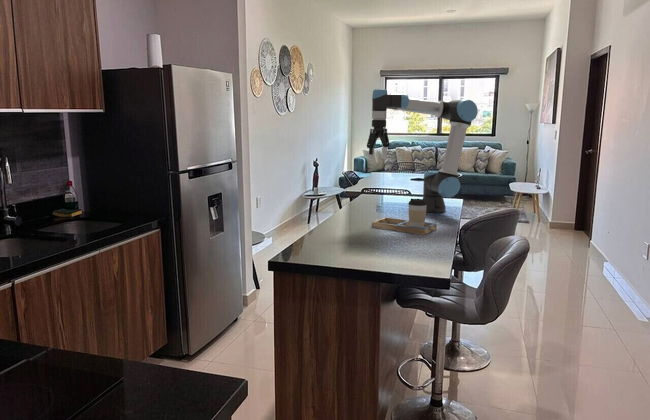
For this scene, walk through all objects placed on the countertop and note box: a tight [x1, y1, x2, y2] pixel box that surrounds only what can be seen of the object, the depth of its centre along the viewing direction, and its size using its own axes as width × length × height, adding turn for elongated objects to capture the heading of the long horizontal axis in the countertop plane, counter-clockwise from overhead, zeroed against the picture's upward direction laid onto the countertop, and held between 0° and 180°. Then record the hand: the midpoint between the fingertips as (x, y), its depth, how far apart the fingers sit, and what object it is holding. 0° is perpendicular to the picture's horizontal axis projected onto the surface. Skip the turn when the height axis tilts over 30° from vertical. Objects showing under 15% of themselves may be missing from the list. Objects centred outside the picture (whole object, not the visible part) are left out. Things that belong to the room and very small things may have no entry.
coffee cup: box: [407, 198, 427, 228], centre depth 235 cm, size 9×9×15 cm
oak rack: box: [371, 216, 438, 236], centre depth 241 cm, size 15×28×3 cm, turn 54°
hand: (378, 160), depth 259 cm, fingers open, 13 cm apart
